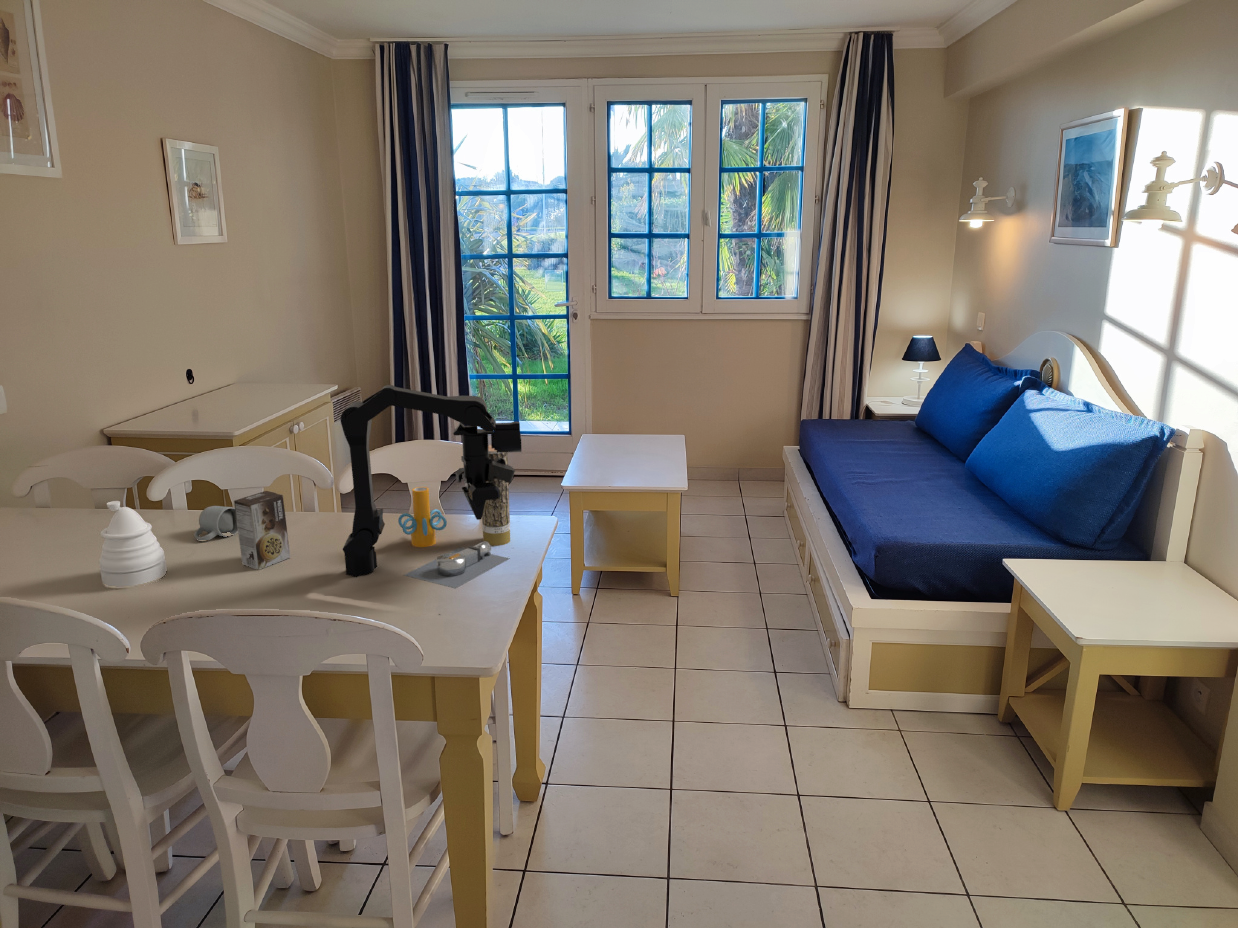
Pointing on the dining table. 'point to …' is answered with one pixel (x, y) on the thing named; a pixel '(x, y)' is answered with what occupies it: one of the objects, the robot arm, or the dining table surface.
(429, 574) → the mat
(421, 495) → the cylinder
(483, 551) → the duct stub
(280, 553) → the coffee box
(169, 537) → the dining table surface
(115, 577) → the honey pot
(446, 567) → the dial knob with block
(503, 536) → the bark covered log
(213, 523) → the ceramic mug
